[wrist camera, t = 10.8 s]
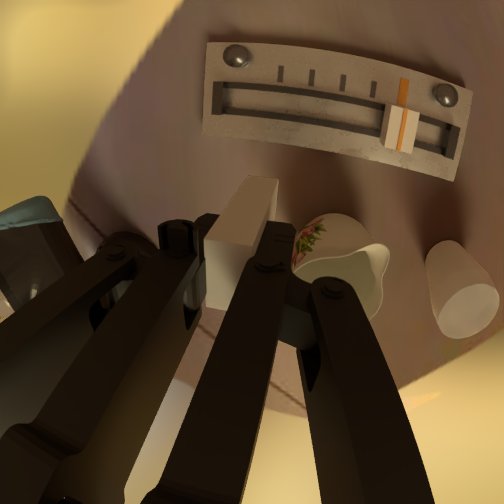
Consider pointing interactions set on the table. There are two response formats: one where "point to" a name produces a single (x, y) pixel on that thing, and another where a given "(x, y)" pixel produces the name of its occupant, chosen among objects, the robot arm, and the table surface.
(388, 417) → the robot arm
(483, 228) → the table surface
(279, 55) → the console
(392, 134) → the fader
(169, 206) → the table surface
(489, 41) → the table surface
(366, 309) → the pitcher
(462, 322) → the cup
